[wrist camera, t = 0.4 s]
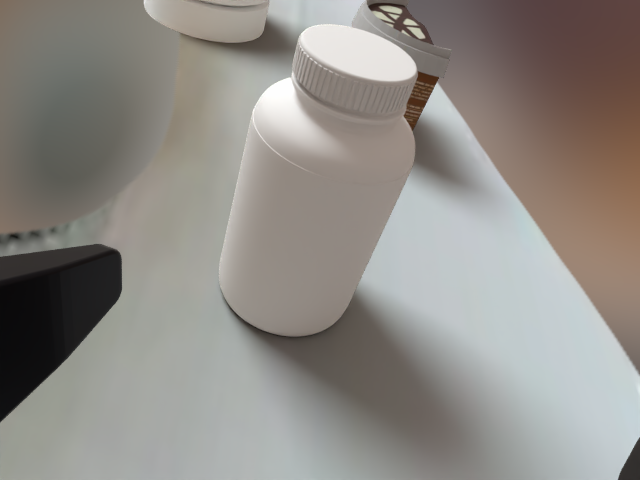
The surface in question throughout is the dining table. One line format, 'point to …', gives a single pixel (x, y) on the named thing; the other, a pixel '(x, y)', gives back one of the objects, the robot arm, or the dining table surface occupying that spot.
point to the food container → (406, 47)
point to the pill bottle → (318, 180)
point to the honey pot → (212, 18)
